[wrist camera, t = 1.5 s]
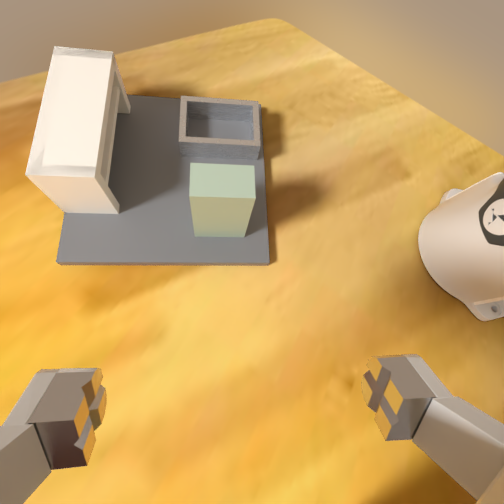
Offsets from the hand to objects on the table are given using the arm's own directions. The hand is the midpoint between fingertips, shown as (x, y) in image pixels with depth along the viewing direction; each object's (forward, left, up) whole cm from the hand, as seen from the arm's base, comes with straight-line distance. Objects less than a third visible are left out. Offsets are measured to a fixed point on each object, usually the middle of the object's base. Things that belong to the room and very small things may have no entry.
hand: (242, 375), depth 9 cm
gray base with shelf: (+6, -23, -26) cm, 35 cm away
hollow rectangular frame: (0, -29, -25) cm, 38 cm away
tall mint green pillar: (0, -16, -25) cm, 29 cm away
